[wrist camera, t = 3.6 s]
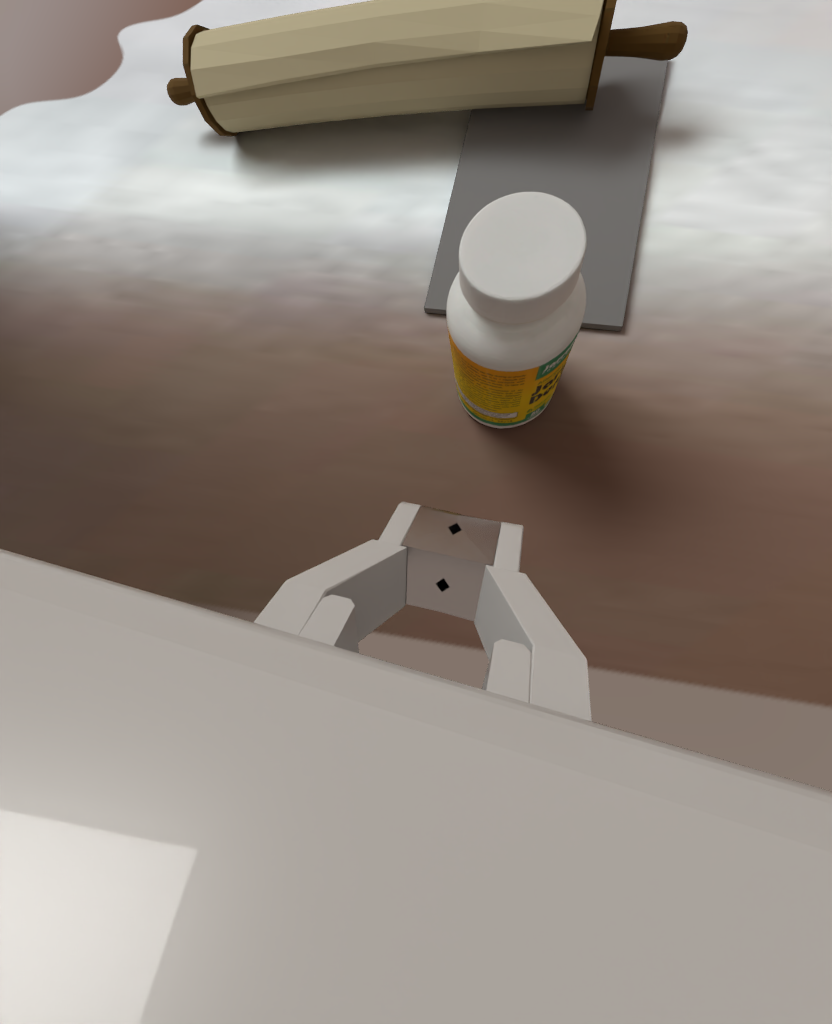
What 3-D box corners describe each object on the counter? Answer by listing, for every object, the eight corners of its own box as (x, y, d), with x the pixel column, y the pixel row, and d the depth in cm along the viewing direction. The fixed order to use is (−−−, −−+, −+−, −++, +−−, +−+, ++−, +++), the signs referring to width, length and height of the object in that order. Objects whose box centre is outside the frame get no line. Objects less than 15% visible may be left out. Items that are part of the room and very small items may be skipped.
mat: (425, 312, 23) (424, 307, 23) (484, 65, 25) (484, 56, 25) (619, 330, 21) (622, 326, 21) (666, 58, 23) (669, 49, 23)
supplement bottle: (478, 331, 22) (476, 155, 13) (569, 357, 21) (638, 186, 12) (441, 413, 22) (412, 293, 13) (532, 445, 21) (573, 339, 11)
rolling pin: (669, 58, 22) (719, -85, 17) (659, 140, 22) (708, 14, 17) (203, 99, 29) (146, 4, 24) (183, 161, 29) (121, 77, 24)
